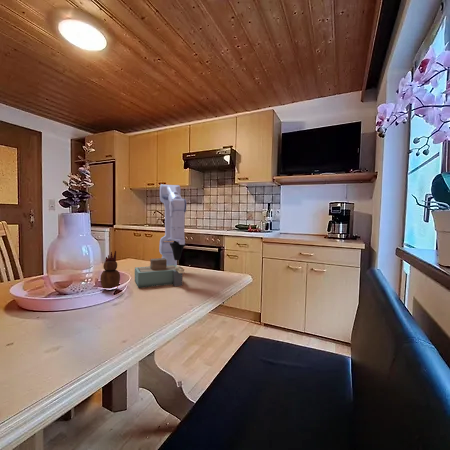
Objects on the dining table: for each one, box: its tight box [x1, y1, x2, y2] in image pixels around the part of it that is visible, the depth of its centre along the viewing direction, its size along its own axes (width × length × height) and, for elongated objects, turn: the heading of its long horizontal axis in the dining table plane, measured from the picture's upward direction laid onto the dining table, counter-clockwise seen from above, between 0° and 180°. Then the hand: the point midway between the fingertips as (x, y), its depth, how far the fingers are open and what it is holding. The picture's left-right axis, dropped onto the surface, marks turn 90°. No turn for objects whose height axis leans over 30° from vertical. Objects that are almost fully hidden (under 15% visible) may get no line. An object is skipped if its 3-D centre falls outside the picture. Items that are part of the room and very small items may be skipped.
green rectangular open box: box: [134, 264, 183, 289], centre depth 110 cm, size 14×18×6 cm
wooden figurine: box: [99, 250, 121, 289], centre depth 99 cm, size 7×6×15 cm
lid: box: [138, 257, 175, 272], centre depth 111 cm, size 8×15×5 cm, turn 116°
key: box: [175, 265, 185, 274], centre depth 105 cm, size 6×2×2 cm, turn 26°
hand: (177, 259), depth 108 cm, fingers closed
